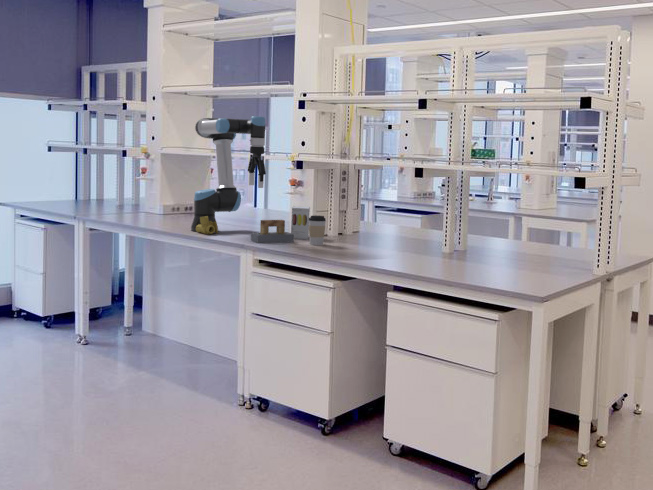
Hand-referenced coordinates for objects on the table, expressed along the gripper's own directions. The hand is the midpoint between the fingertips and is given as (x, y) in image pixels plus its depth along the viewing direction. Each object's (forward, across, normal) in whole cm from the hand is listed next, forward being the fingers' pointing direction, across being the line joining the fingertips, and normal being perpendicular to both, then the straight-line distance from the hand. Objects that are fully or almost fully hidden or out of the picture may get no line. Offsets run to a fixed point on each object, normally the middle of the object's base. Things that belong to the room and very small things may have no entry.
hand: (255, 186), depth 385 cm
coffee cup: (+27, +30, +23) cm, 46 cm away
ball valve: (+29, -24, -18) cm, 42 cm away
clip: (+27, +13, +5) cm, 31 cm away
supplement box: (+28, +4, +25) cm, 38 cm away
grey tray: (+27, +13, +5) cm, 31 cm away
